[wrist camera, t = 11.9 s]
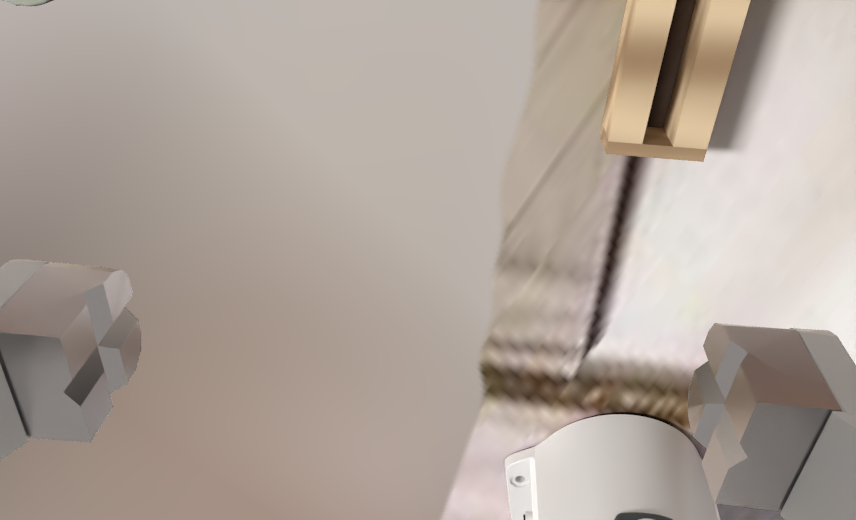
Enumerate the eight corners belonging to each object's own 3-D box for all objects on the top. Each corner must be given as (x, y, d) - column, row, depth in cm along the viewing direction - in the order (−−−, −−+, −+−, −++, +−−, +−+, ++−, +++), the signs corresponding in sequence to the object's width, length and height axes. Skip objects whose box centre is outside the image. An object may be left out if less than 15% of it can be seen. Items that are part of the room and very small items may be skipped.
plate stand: (692, 142, 45) (703, 161, 43) (600, 134, 45) (605, 153, 43) (742, -36, 39) (758, -26, 37) (636, -44, 40) (644, -34, 37)
